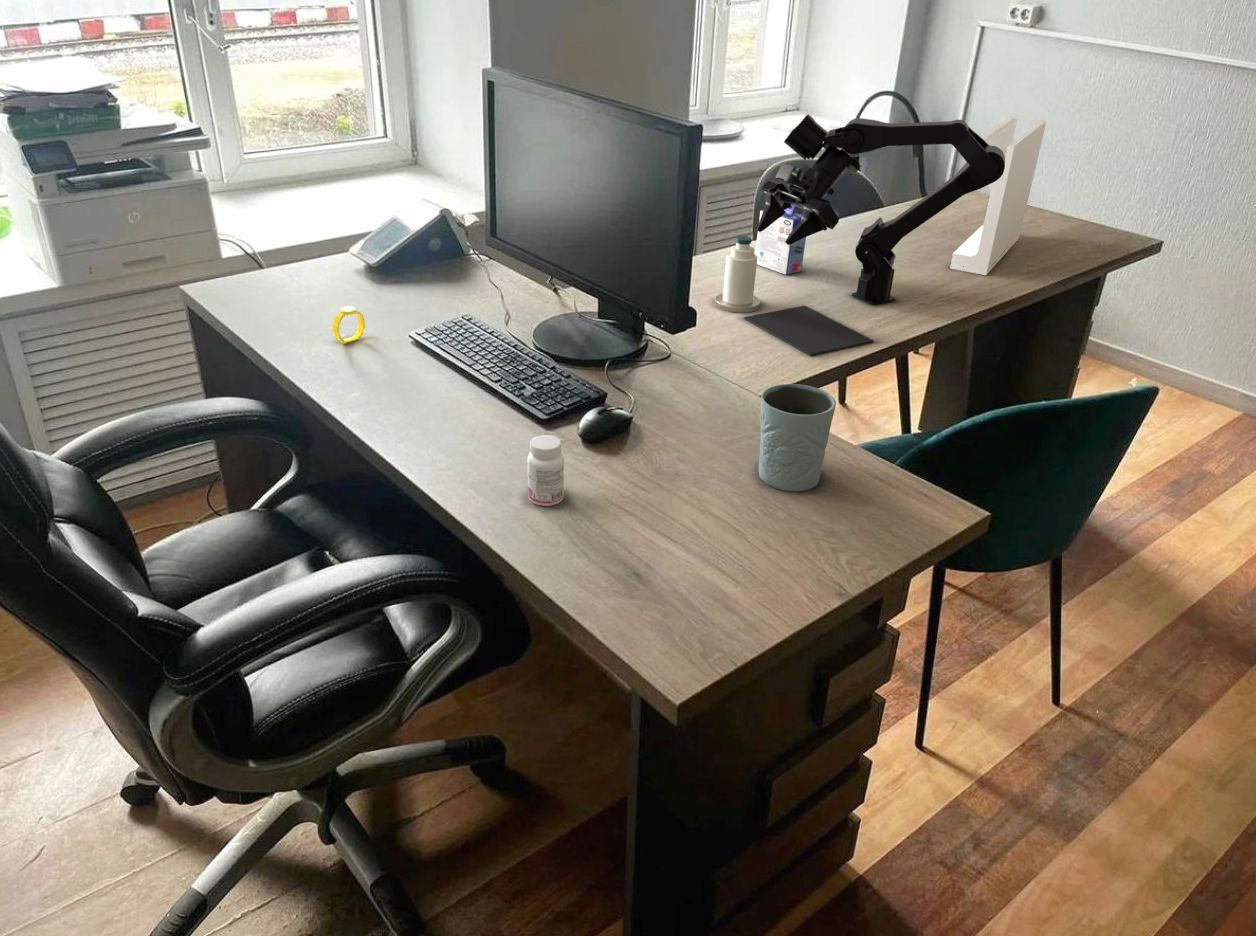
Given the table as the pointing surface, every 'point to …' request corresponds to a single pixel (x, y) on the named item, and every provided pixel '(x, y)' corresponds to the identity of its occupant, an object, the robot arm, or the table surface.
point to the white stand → (1003, 199)
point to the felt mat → (808, 330)
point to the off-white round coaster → (737, 308)
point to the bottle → (740, 273)
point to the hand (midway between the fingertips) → (772, 236)
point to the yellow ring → (338, 318)
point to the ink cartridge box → (780, 245)
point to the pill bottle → (545, 471)
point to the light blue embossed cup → (794, 435)
